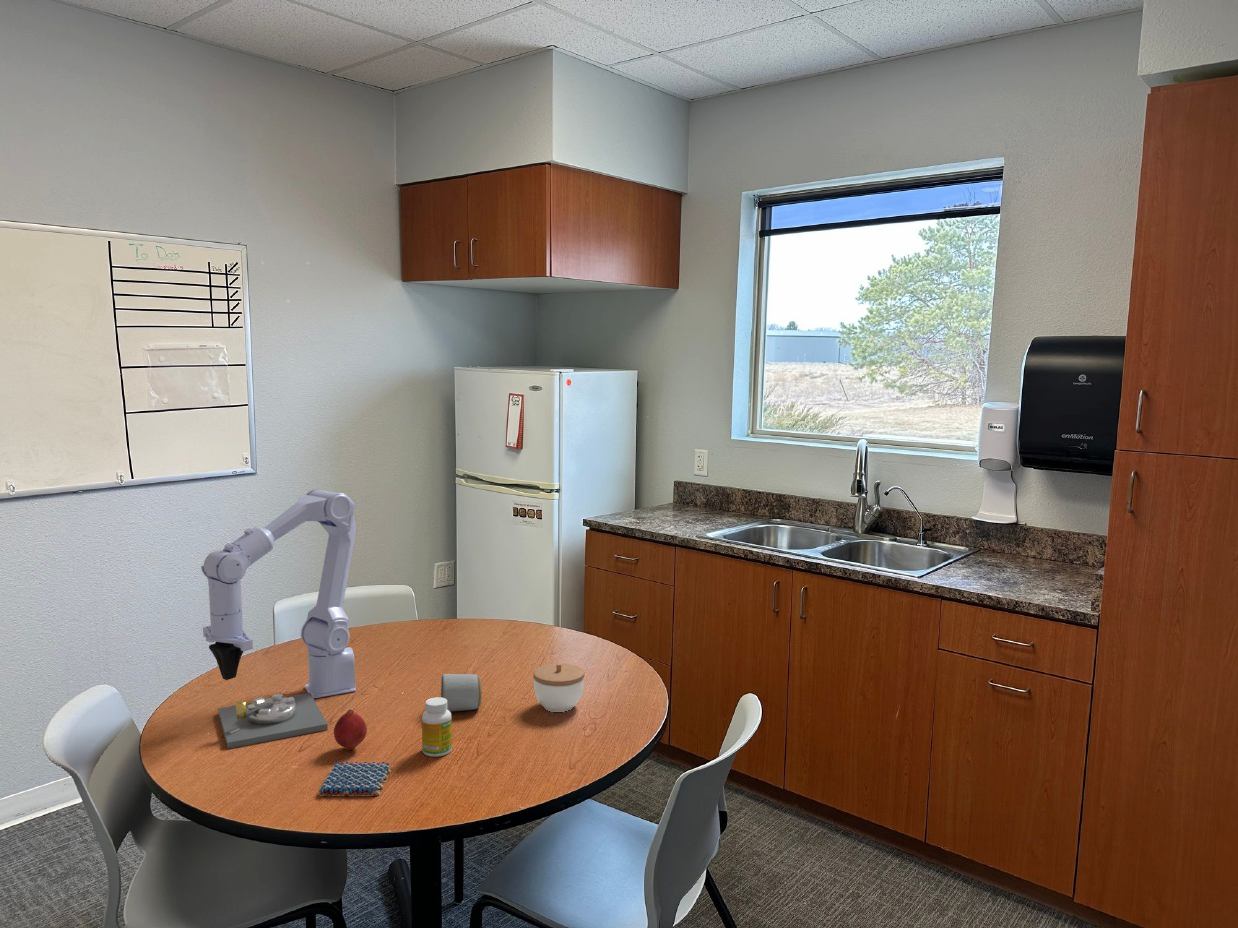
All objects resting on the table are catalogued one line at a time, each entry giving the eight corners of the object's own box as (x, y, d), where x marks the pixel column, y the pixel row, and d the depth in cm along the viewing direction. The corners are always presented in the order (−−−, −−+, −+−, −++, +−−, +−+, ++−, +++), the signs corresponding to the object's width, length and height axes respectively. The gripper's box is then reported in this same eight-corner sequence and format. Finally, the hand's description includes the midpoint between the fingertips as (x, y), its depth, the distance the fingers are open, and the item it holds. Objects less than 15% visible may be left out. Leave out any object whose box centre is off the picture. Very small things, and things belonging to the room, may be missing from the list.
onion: (337, 759, 159) (336, 717, 158) (332, 746, 164) (330, 705, 163) (369, 752, 161) (369, 711, 160) (363, 740, 166) (362, 700, 165)
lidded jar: (594, 706, 184) (595, 664, 183) (557, 721, 176) (557, 677, 175) (559, 693, 191) (560, 652, 190) (522, 707, 183) (522, 664, 182)
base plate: (310, 697, 187) (310, 692, 186) (327, 729, 171) (327, 723, 171) (218, 713, 178) (218, 707, 178) (227, 748, 162) (227, 742, 162)
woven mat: (393, 770, 156) (393, 759, 156) (379, 800, 145) (379, 788, 145) (334, 770, 156) (334, 759, 155) (316, 800, 145) (315, 788, 145)
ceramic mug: (482, 714, 179) (482, 678, 179) (442, 717, 177) (442, 681, 177) (477, 695, 190) (477, 661, 189) (439, 699, 187) (438, 664, 187)
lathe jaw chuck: (274, 703, 180) (273, 679, 180) (305, 711, 176) (304, 687, 175) (222, 725, 169) (221, 699, 169) (254, 734, 165) (253, 708, 165)
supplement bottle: (444, 758, 159) (444, 708, 158) (417, 755, 160) (416, 705, 159) (456, 746, 165) (455, 696, 163) (429, 743, 166) (428, 694, 164)
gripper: (186, 609, 172) (190, 675, 174) (226, 623, 163) (230, 692, 165) (220, 601, 177) (224, 665, 179) (261, 614, 169) (264, 681, 171)
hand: (229, 677), depth 173 cm, fingers closed
